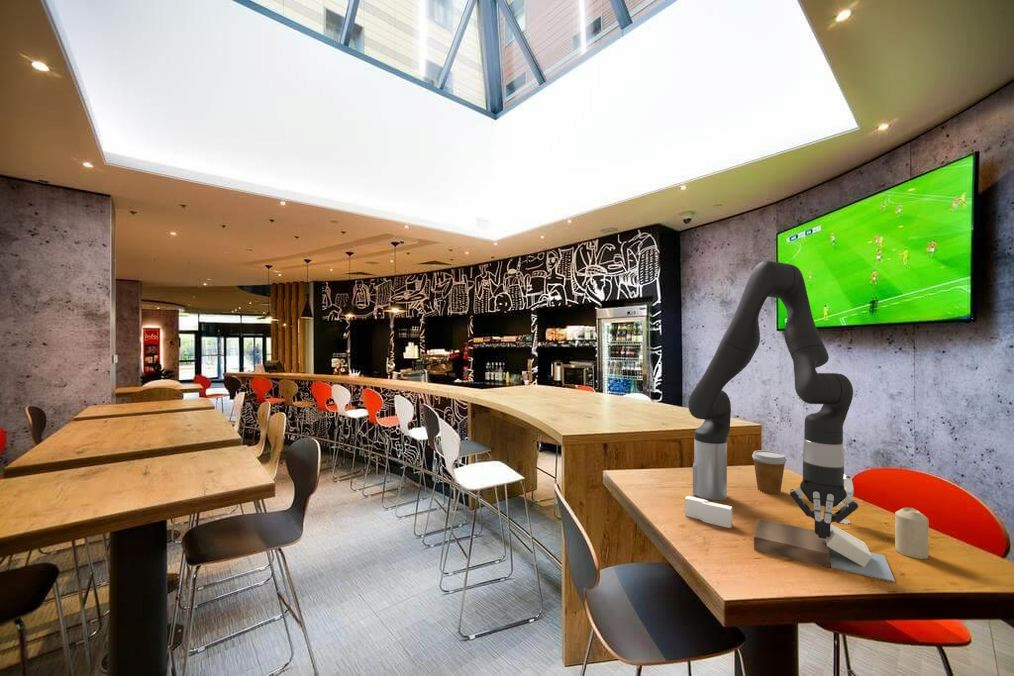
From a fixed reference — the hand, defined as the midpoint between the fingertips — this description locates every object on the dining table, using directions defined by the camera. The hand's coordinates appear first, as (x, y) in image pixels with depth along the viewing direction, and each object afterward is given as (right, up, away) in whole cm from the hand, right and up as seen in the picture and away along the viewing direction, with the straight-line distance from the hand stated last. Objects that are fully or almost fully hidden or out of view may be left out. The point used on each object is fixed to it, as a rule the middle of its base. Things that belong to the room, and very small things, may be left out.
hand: (822, 537), depth 96 cm
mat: (+6, -4, -3) cm, 8 cm away
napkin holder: (-17, -5, +19) cm, 26 cm away
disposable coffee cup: (+13, -4, +40) cm, 43 cm away
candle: (+21, -4, +1) cm, 22 cm away
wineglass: (+19, -4, +18) cm, 26 cm away
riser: (-5, -4, +3) cm, 7 cm away
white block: (+4, -2, -1) cm, 4 cm away
